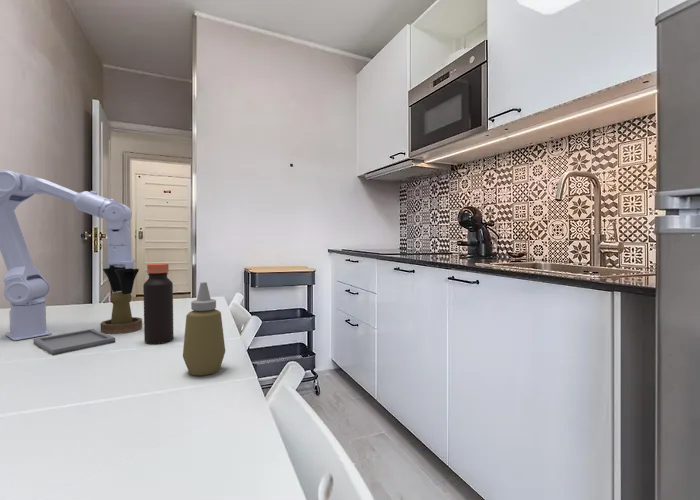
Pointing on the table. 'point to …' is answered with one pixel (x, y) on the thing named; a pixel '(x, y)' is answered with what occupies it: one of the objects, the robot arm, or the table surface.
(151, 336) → the vinegar
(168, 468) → the table surface
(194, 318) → the squeeze bottle
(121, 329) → the ring
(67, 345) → the tray
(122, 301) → the pepper mill
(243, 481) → the table surface
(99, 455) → the table surface
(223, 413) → the table surface
